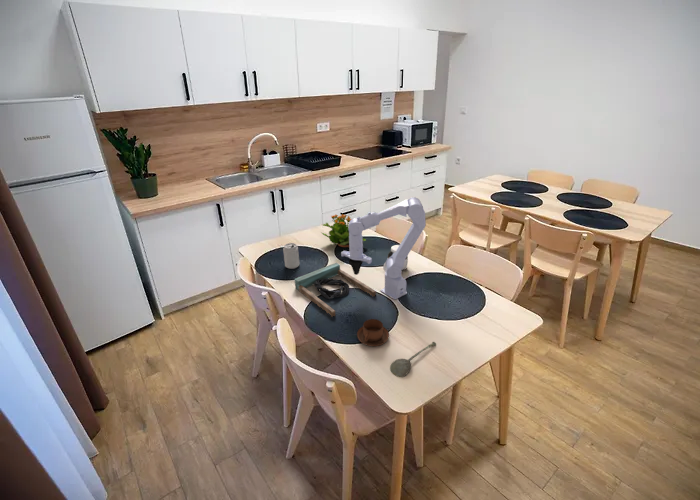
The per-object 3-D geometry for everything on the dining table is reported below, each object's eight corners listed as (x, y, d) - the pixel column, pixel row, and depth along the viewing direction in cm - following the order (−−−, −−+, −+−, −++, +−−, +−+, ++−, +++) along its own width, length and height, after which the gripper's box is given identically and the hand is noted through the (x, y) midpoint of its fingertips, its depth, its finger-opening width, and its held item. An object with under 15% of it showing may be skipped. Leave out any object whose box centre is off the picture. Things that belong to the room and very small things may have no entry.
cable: (308, 287, 168) (307, 279, 166) (332, 277, 176) (332, 269, 174) (329, 303, 156) (329, 295, 154) (354, 292, 164) (354, 284, 162)
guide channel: (375, 295, 160) (375, 286, 158) (332, 317, 147) (332, 307, 145) (336, 271, 180) (336, 262, 178) (295, 288, 167) (294, 278, 165)
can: (298, 269, 183) (296, 248, 178) (283, 269, 183) (281, 248, 178) (300, 262, 190) (298, 242, 184) (286, 262, 190) (284, 242, 185)
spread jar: (406, 265, 185) (408, 244, 180) (407, 276, 175) (409, 255, 170) (383, 264, 186) (383, 244, 181) (383, 275, 176) (383, 254, 171)
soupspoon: (385, 371, 121) (399, 383, 117) (385, 364, 120) (400, 376, 115) (427, 340, 133) (442, 350, 129) (428, 333, 132) (443, 343, 127)
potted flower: (374, 241, 211) (374, 213, 203) (353, 257, 193) (352, 227, 186) (339, 233, 223) (338, 206, 216) (316, 247, 205) (314, 219, 198)
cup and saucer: (387, 351, 129) (387, 337, 126) (354, 346, 131) (354, 333, 128) (390, 329, 139) (391, 316, 136) (360, 326, 141) (359, 313, 139)
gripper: (375, 246, 153) (375, 273, 159) (347, 239, 160) (347, 265, 166) (366, 252, 148) (367, 280, 154) (338, 245, 155) (339, 272, 161)
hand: (356, 273), depth 160 cm, fingers closed
